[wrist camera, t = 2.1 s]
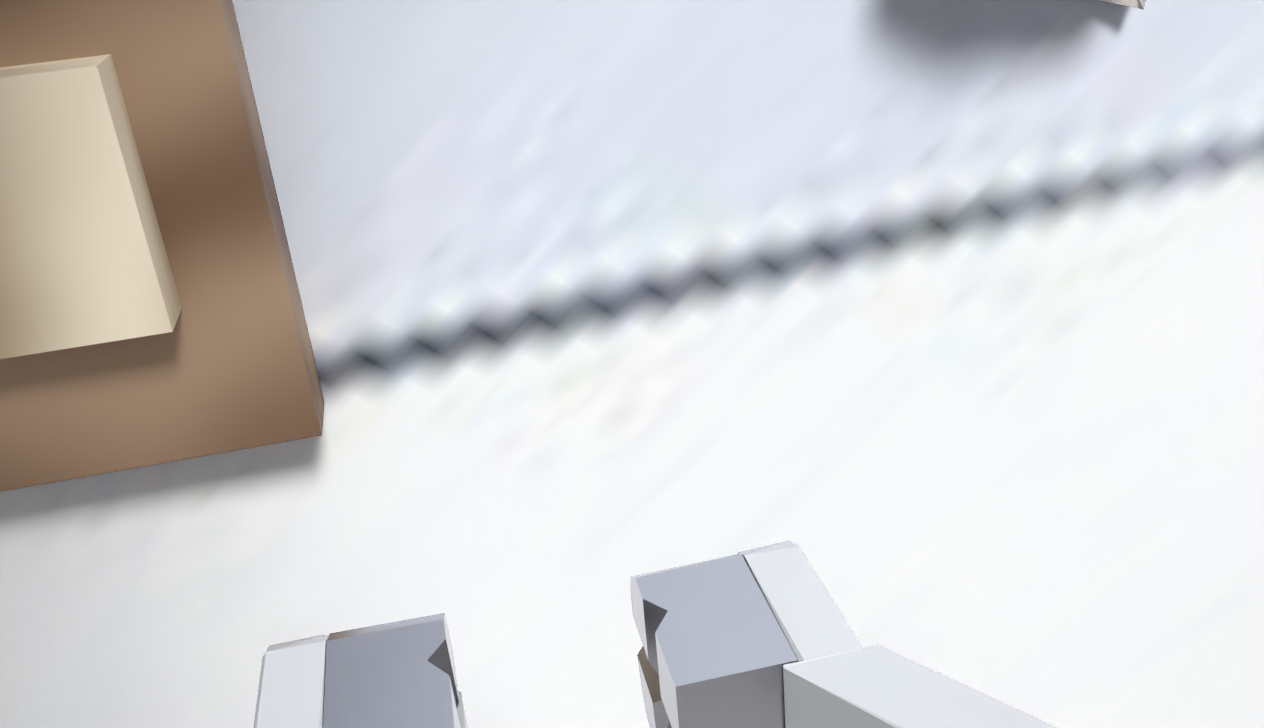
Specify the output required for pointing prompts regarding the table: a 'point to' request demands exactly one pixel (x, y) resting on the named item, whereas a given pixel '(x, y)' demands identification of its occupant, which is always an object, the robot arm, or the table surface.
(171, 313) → the birch block
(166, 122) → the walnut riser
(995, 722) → the robot arm
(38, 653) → the table surface
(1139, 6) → the packaged product
